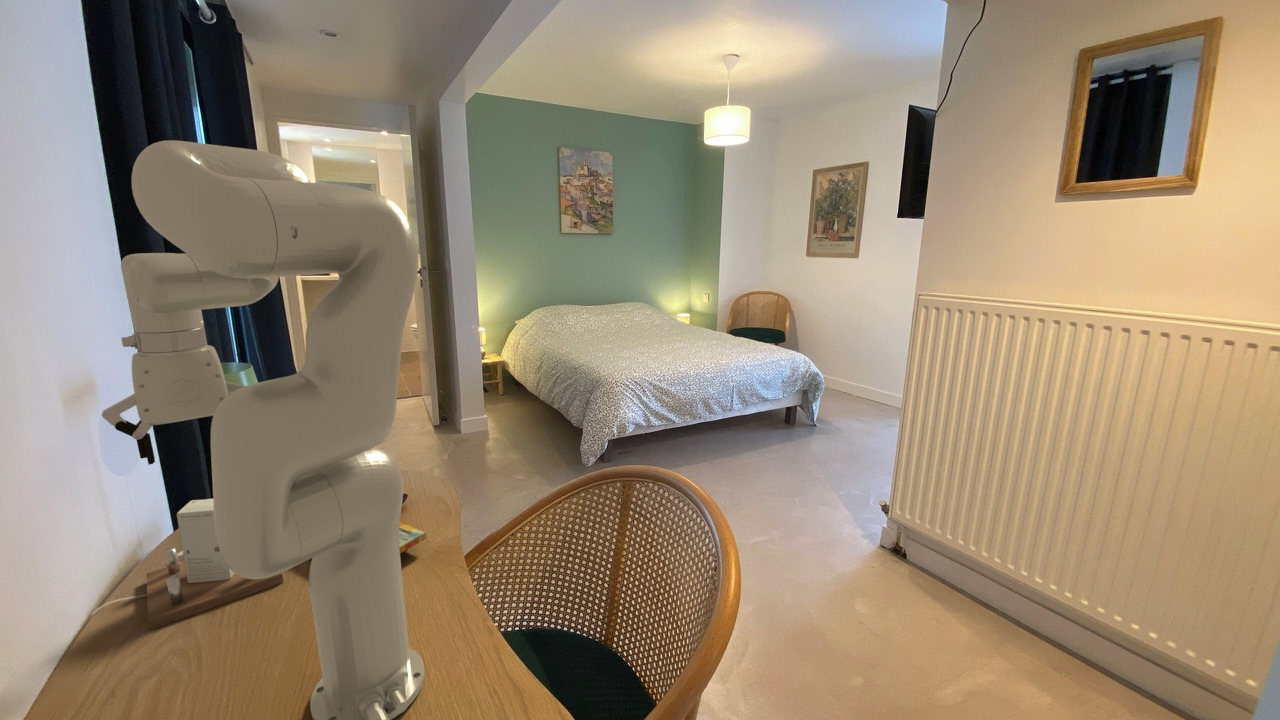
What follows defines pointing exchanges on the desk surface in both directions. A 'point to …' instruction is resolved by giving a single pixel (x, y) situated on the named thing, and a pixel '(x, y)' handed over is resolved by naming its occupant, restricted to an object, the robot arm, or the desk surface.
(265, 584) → the post stand
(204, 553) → the skincare box
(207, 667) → the desk surface
